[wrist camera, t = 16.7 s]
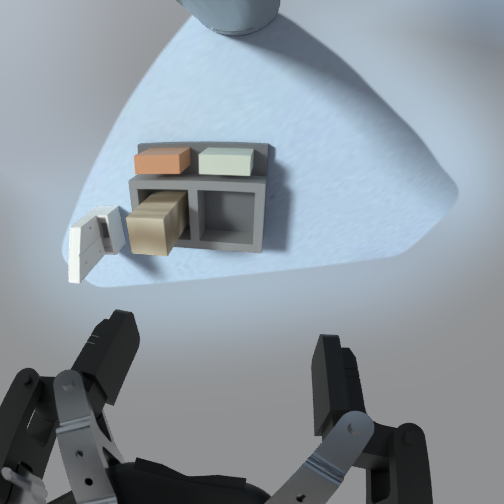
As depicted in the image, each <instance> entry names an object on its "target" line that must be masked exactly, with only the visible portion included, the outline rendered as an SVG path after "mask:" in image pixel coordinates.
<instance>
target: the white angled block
mask: <svg viewBox="0 0 504 504" xmlns="http://www.w3.org/2000/svg"><path fill="white" fill-rule="evenodd" d="M125 244H126V241H125V236H124V232H123V227H122V222H121V217H120V211H119V206H97V207H95V208H94V209H93V210H91V211H90V212H89V213H88V214H86V215H85V216H84V217H82V218H81V219H80V220H79V221H77V222H76V223H75V224H74V225H72V226H71V227H70V238H69V282H70V283H78V284H80V283H81V281H82V280H83V279H84V278H85V277H86V276H87V274H88V273H89V272H90V271H91V270H92V269H93V267H94V266H95V265H96V264H97V263H98V262H99V261H100V260H101V258H102V257H103V256H104V255H105V254H112V255H116V254H117V253H118V252H119V251H120V250H121V249H122V248H123V246H124V245H125Z"/></svg>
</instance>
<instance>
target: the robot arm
mask: <svg viewBox="0 0 504 504" xmlns="http://www.w3.org/2000/svg"><path fill="white" fill-rule="evenodd" d="M176 1H177V2H178V3H180V4H181V5H182V6H183V7H184V8H185V9H187V10H188V11H189V12H190V13H191V14H192V15H193V16H194V17H196V18H197V19H198V20H199V21H200V22H201V23H202V24H203V25H205V26H206V27H207V28H209V29H210V30H212V31H215V32H217V33H220V34H224V35H234V36H236V35H245V34H249V33H253V32H255V31H257V30H259V29H262V28H263V27H264V26H266V25H267V24H269V23H270V22H271V20H272V19H273V18H274V17H275V15H276V14H277V12H278V9H279V6H280V0H176ZM139 343H140V336H139V332H138V329H137V325H136V322H135V318H134V315H133V313H132V312H128V311H122V310H115V311H114V312H113V314H112V315H111V317H110V319H104V320H103V321H102V322H100V323H99V324H98V325H97V326H96V327H95V329H94V330H93V333H92V334H91V336H90V337H89V339H88V340H87V343H86V344H85V346H84V347H83V349H82V351H81V352H80V354H79V356H78V357H77V359H76V361H75V363H74V365H73V366H72V368H71V369H70V370H64V371H62V372H60V373H59V374H58V375H57V376H56V377H43V376H39V374H38V373H37V372H36V371H35V370H34V369H32V368H25V369H23V370H21V371H20V372H19V373H18V374H17V375H16V377H15V379H14V380H13V382H12V384H11V386H10V388H9V390H8V392H7V394H6V396H5V398H4V400H3V402H2V404H1V406H0V504H325V503H326V502H327V501H328V500H329V498H330V497H331V496H332V495H333V494H334V492H335V491H336V490H337V489H338V487H339V486H340V485H341V483H342V482H343V480H344V476H345V475H346V473H347V472H348V470H349V469H350V468H351V466H354V467H359V468H364V469H366V504H433V499H432V487H431V478H430V468H429V460H428V453H427V446H426V440H425V435H424V432H423V430H422V429H421V428H420V427H419V426H417V425H416V424H413V423H405V424H402V425H400V426H399V427H398V428H394V427H389V426H384V425H381V424H378V423H376V422H374V421H373V420H372V419H371V418H370V417H369V416H368V415H367V413H366V411H365V406H364V400H363V394H362V388H361V383H360V379H359V372H358V367H357V362H356V357H355V356H354V354H353V353H352V351H351V350H350V348H341V345H340V339H339V336H338V335H326V334H325V335H324V334H320V336H319V339H318V342H317V345H316V348H315V352H314V355H313V358H312V366H311V370H312V388H313V406H314V433H315V436H322V443H321V444H320V445H319V446H318V448H317V449H316V450H315V451H314V453H313V454H312V455H311V456H310V457H309V458H308V459H307V460H306V461H305V462H304V463H303V464H302V466H301V467H300V468H299V469H298V470H297V471H296V472H295V473H294V474H293V475H292V476H291V477H290V478H289V480H288V481H287V482H286V483H285V484H284V485H283V486H282V487H281V488H280V489H279V490H278V491H277V492H276V493H275V494H274V495H273V496H272V497H271V496H270V495H269V494H268V493H266V492H265V491H264V490H262V489H260V488H258V487H256V486H254V485H252V484H249V483H246V478H239V477H229V476H222V475H210V476H185V475H183V474H181V473H179V472H177V471H175V470H173V469H171V468H169V467H167V466H164V465H163V464H159V463H155V462H152V461H148V460H144V459H141V458H136V461H135V462H128V463H125V461H124V459H123V457H122V455H121V453H120V451H119V450H118V448H117V446H116V444H115V442H114V439H113V436H112V434H111V431H110V428H109V425H108V422H107V419H106V416H105V413H104V410H103V407H104V405H105V403H107V404H110V405H113V406H114V403H115V401H116V399H117V396H118V394H119V391H120V389H121V387H122V384H123V382H124V380H125V377H126V375H127V372H128V370H129V368H130V366H131V364H132V361H133V359H134V357H135V354H136V352H137V350H138V348H139ZM34 410H35V412H34ZM33 412H34V414H33ZM32 414H33V417H32V419H31V421H30V418H31V416H32ZM29 421H30V424H29V426H28V423H29ZM27 426H28V429H27ZM56 437H57V439H58V444H59V448H60V452H61V455H62V459H63V463H64V466H65V470H66V473H67V476H68V479H69V483H70V486H71V489H72V490H71V491H70V492H68V493H66V494H64V495H62V496H60V497H58V498H57V499H55V500H53V501H51V502H49V503H46V500H45V498H46V497H47V490H46V489H45V485H44V483H43V481H42V479H43V475H44V472H45V469H46V466H47V463H48V460H49V457H50V454H51V451H52V448H53V445H54V442H55V439H56Z"/></svg>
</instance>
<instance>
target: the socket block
mask: <svg viewBox="0 0 504 504" xmlns="http://www.w3.org/2000/svg"><path fill="white" fill-rule="evenodd" d="M134 162H135V174H138V175H136V176H135V177H133V178H132V179H130V180H129V190H130V198H131V206H132V211H133V210H134V209H136V208H137V207H138V206H139V205H140V204H141V203H142V202H143V201H144V200H146V199H147V198H148V197H149V196H150V195H151V194H152V193H153V192H155V191H187V198H188V216H189V223H188V225H187V226H186V228H185V229H184V231H183V232H182V234H181V235H180V237H179V239H178V240H177V242H176V243H175V245H174V247H184V248H198V249H212V250H226V251H239V252H253V253H262V244H263V232H264V215H265V198H266V180H267V162H268V144H266V143H245V142H161V143H141V144H139V145H138V154H137V155H135V156H134Z"/></svg>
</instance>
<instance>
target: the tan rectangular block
mask: <svg viewBox="0 0 504 504" xmlns="http://www.w3.org/2000/svg"><path fill="white" fill-rule="evenodd" d="M126 222H127V228H128V234H129V240H130V246H131V251H132V253H135V254H146V255H158V256H168V255H169V253H170V251H171V250H172V248H173V247H174V245H175V243H176V242H177V240H178V239H179V237H180V235H181V234H182V232H183V231H184V229H185V228H186V226H187V225H188V223H189V216H188V198H187V191H155V192H153V193H152V194H151V195H150V196H149V197H148V198H147V199H146V200H144V201H143V202H142V203H141V204H140V205H139V206H138V207H137V208H136V209H134V210H133V211H132V212H131V213H130V214H129V215H128V216H127V217H126Z"/></svg>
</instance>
